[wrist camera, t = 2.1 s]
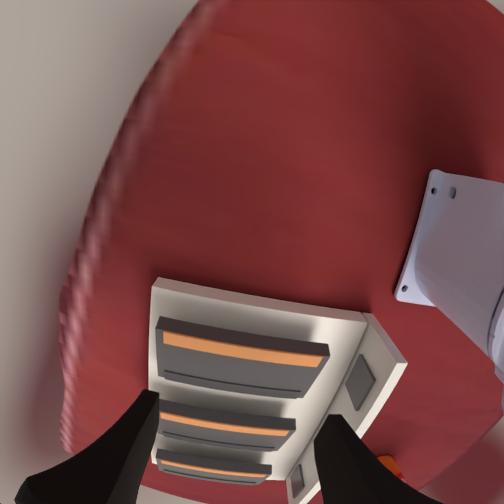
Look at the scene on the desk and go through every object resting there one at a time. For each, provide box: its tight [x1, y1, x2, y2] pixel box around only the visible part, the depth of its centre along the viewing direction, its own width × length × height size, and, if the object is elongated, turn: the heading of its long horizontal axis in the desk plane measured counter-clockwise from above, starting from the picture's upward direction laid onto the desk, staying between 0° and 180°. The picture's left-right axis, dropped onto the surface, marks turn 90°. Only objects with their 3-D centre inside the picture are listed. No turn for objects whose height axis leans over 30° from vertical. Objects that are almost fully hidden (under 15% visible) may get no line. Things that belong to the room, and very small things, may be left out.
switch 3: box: [156, 448, 272, 485], centre depth 21 cm, size 5×10×1 cm, turn 79°
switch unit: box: [149, 277, 408, 504], centre depth 19 cm, size 21×15×6 cm
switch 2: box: [157, 399, 296, 452], centre depth 19 cm, size 5×10×1 cm, turn 79°
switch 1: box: [155, 316, 330, 399], centre depth 17 cm, size 5×10×1 cm, turn 79°
